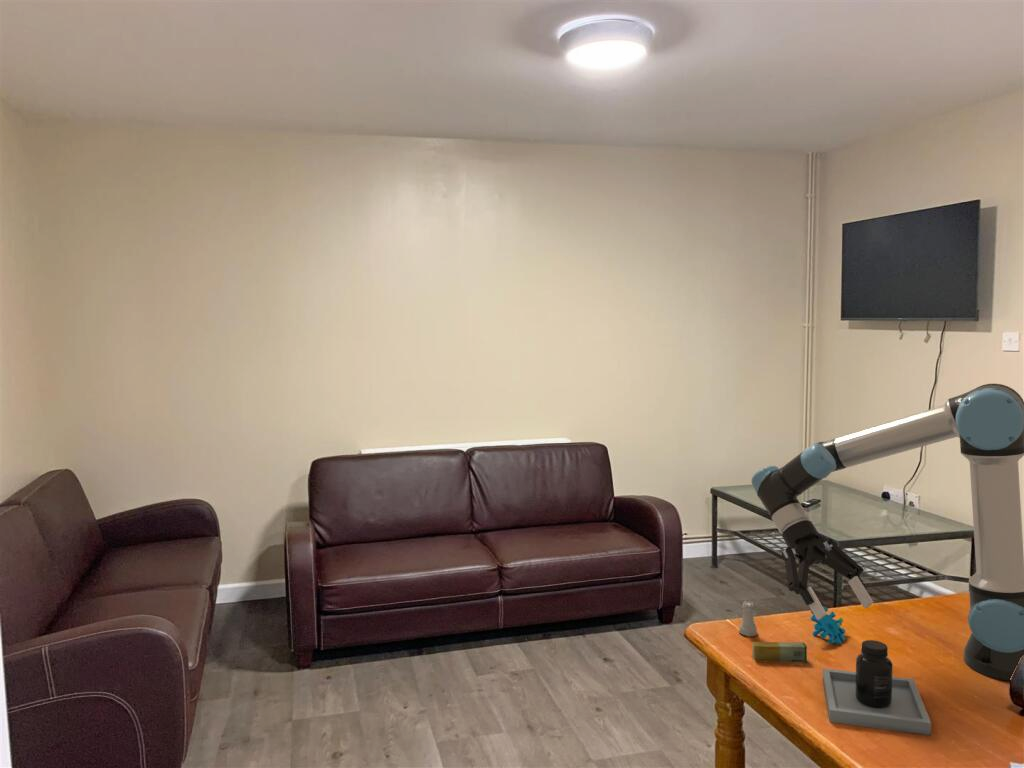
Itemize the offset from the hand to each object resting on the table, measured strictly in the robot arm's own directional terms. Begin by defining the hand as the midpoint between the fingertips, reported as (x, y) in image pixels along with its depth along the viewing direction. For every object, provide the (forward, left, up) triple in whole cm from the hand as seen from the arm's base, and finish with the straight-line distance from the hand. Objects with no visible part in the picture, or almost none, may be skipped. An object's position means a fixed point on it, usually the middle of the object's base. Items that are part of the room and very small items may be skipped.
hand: (846, 611), depth 171 cm
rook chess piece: (+20, -18, -16) cm, 32 cm away
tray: (-5, +11, -15) cm, 19 cm away
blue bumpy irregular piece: (+1, -20, -16) cm, 26 cm away
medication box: (+13, -6, -16) cm, 22 cm away
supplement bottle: (-5, +10, -15) cm, 19 cm away
